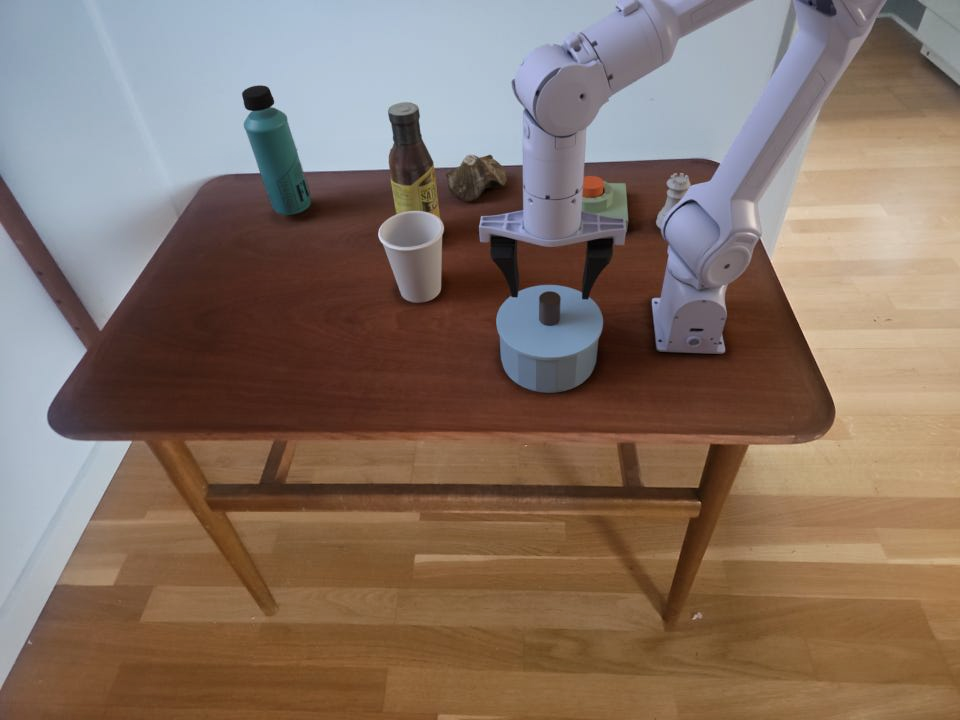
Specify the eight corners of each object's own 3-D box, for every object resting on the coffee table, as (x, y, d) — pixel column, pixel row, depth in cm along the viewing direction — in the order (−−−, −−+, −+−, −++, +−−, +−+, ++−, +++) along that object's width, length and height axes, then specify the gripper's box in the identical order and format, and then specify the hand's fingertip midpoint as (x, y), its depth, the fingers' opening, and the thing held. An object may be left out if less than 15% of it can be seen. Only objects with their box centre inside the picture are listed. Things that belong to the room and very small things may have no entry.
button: (602, 199, 95) (603, 189, 94) (578, 199, 96) (578, 188, 94) (602, 186, 98) (603, 175, 96) (578, 185, 98) (579, 175, 97)
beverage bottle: (310, 223, 102) (273, 99, 87) (269, 224, 102) (225, 101, 88) (318, 200, 106) (284, 78, 92) (279, 201, 106) (238, 80, 92)
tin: (596, 395, 74) (599, 360, 70) (497, 390, 76) (495, 355, 71) (595, 326, 82) (598, 291, 78) (505, 323, 83) (504, 288, 79)
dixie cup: (379, 300, 88) (365, 240, 81) (408, 264, 93) (398, 205, 86) (433, 315, 85) (424, 254, 78) (460, 277, 90) (454, 216, 83)
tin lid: (603, 366, 70) (606, 338, 67) (491, 361, 71) (489, 334, 68) (601, 293, 78) (604, 265, 75) (501, 290, 80) (500, 262, 77)
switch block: (626, 232, 95) (629, 209, 92) (551, 231, 96) (552, 208, 94) (624, 195, 102) (626, 172, 99) (554, 194, 103) (554, 172, 100)
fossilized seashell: (496, 156, 108) (441, 178, 107) (497, 135, 101) (437, 158, 101) (514, 194, 106) (458, 217, 106) (516, 176, 100) (456, 199, 99)
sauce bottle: (436, 251, 95) (419, 122, 80) (395, 248, 96) (371, 120, 81) (446, 225, 99) (432, 99, 85) (407, 223, 100) (386, 97, 86)
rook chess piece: (678, 238, 94) (687, 189, 88) (650, 228, 96) (657, 180, 90) (691, 222, 96) (701, 174, 90) (663, 213, 98) (672, 166, 92)
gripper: (628, 162, 63) (615, 271, 73) (481, 161, 65) (488, 268, 75) (632, 202, 58) (617, 313, 68) (473, 200, 60) (481, 308, 70)
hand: (549, 292), depth 71 cm, fingers open, 7 cm apart
